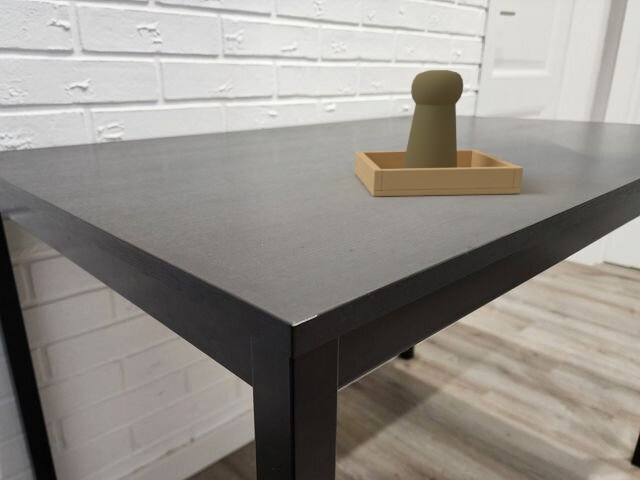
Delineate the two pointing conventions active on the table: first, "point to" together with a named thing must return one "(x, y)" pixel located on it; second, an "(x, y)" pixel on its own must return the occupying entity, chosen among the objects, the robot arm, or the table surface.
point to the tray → (437, 175)
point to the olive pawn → (434, 120)
